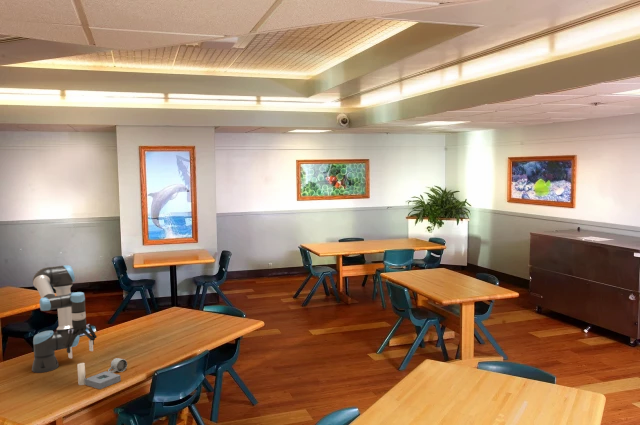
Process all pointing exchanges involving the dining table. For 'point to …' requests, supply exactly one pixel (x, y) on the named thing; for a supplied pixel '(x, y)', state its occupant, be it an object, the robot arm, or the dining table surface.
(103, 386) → the bore block
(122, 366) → the ceramic mug
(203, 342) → the dining table surface
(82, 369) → the dowel pin
